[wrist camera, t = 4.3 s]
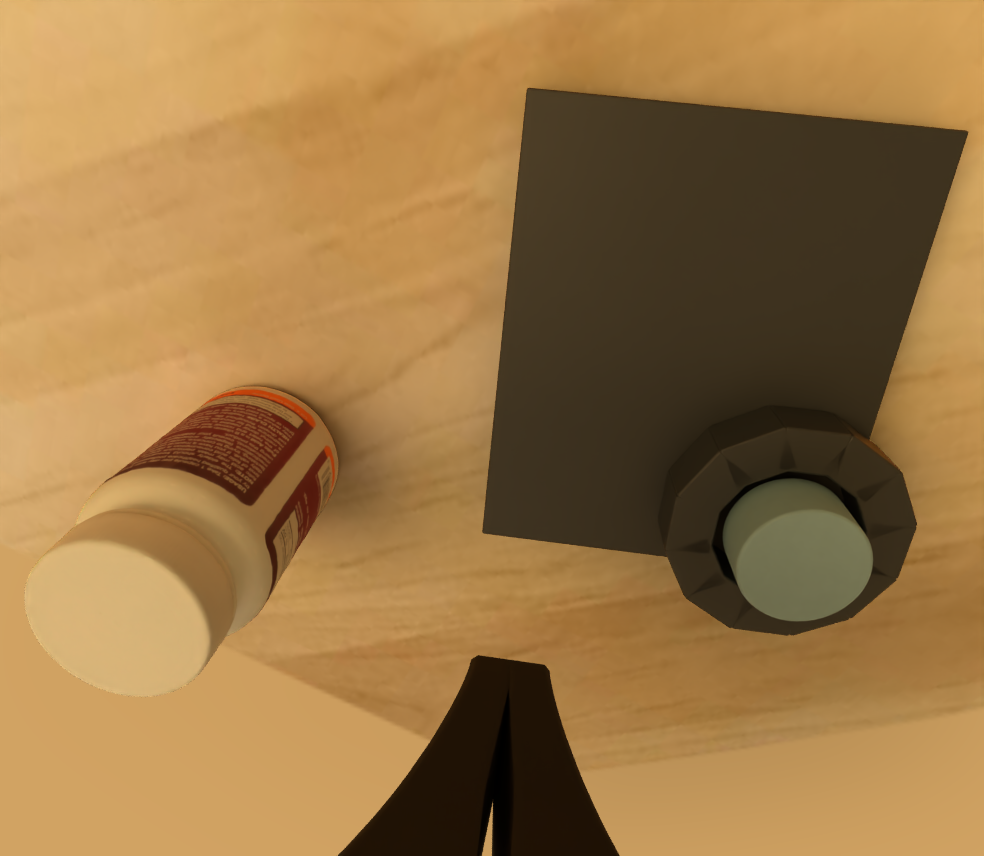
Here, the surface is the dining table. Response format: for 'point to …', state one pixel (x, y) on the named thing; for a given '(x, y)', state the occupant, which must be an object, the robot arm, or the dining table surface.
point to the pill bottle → (183, 543)
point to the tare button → (796, 550)
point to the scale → (706, 327)
